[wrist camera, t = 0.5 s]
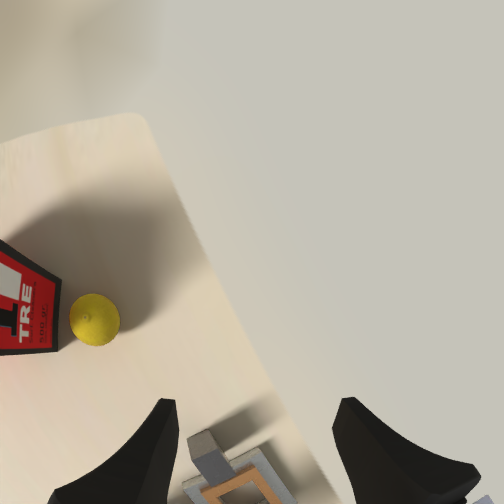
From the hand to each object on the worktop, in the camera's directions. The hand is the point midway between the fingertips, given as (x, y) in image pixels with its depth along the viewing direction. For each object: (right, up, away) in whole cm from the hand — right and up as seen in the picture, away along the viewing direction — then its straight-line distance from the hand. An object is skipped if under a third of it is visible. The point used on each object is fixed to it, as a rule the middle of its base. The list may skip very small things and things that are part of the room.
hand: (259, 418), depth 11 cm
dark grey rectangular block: (-6, -16, +19) cm, 26 cm away
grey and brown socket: (-1, -26, +17) cm, 31 cm away
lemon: (-18, -1, +20) cm, 27 cm away
